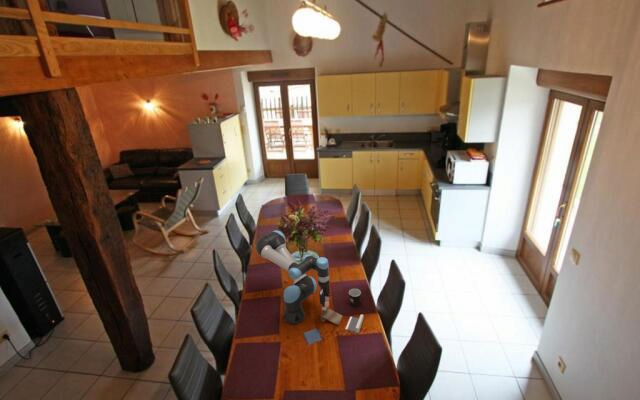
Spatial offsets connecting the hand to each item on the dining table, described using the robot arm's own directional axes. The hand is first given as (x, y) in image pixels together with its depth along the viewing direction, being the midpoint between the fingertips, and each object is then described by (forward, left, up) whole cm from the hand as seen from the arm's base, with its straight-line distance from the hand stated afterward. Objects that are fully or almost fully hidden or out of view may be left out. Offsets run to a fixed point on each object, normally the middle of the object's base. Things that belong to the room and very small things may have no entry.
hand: (325, 306), depth 230 cm
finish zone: (+20, 0, -10) cm, 22 cm away
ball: (0, 0, +2) cm, 2 cm away
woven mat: (-3, -19, -11) cm, 22 cm away
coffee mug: (+16, +19, -10) cm, 27 cm away
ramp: (+4, 0, -10) cm, 11 cm away
